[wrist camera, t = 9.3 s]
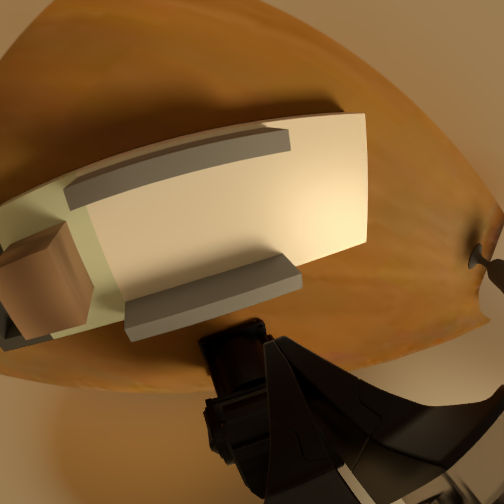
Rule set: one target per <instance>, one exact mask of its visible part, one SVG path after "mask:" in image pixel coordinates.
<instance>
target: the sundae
mask: <svg viewBox="0 0 504 504" xmlns="http://www.w3.org/2000/svg"><path fill="white" fill-rule="evenodd" d="M481 253H482V245H481V244H479V245H477V246H476V247H475V249H474V250H473V252H472V254H471V256H470V259H469V264H468V266H469V269H472V268H474V267H475V265H476V264H482V265H483V266H485V267H486V268H487V272H488V277H489V279H490V280H491V281H492V282H493V283H494V284H495V285H496V286H497V287H498V288H499V289H500V290H501V291H502V292H503V293H504V260H501V259H496V260H493V261H491V262H489V261H487V260H486V259H484V258H483V257H482V255H481Z"/></svg>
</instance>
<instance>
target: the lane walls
mask: <svg viewBox="0 0 504 504" xmlns="http://www.w3.org/2000/svg"><path fill="white" fill-rule="evenodd" d="M287 151H291V146H290V138H289V129H281V128H273V127H264V128H257V129H251V130H246V131H240V132H235V133H230V134H225V135H220V136H215V137H210V138H206V139H201V140H197V141H193V142H189V143H185V144H181V145H177V146H173V147H169V148H165V149H162V150H158V151H155V152H151V153H148V154H144V155H141V156H138V157H134V158H131V159H128V160H125V161H122V162H119V163H116V164H113V165H110V166H107V167H104V168H101V169H98V170H96V171H93V172H90V173H87V174H85V175H82V176H80V177H77V178H76V179H75V180H73V181H72V182H71V183H70V184H69V185H67V186H66V187H65V188H64V189H63V192H64V195H65V198H66V201H67V204H68V207H69V209H70V211H72V210H75V209H77V208H80V207H83V206H85V205H88V204H91V203H94V202H96V201H99V200H102V199H105V198H108V197H111V196H114V195H117V194H120V193H123V192H126V191H129V190H132V189H135V188H138V187H142V186H145V185H148V184H151V183H155V182H158V181H162V180H165V179H169V178H172V177H176V176H180V175H183V174H187V173H191V172H195V171H199V170H203V169H207V168H211V167H215V166H219V165H223V164H228V163H232V162H236V161H241V160H246V159H250V158H255V157H260V156H265V155H270V154H276V153H281V152H287ZM300 288H302V273H301V272H300V271H299V270H298V269H297V268H296V267H295V266H294V265H293V264H292V263H291V261H290V260H289V259H288V258H287V257H286V256H285V255H284V254H279V255H276V256H273V257H270V258H267V259H263V260H260V261H257V262H254V263H251V264H247V265H244V266H241V267H238V268H235V269H231V270H228V271H225V272H222V273H218V274H215V275H212V276H209V277H205V278H202V279H199V280H196V281H192V282H189V283H186V284H183V285H179V286H176V287H173V288H169V289H166V290H163V291H159V292H156V293H153V294H149V295H146V296H143V297H139V298H136V299H133V300H129V301H126V302H125V316H124V330H125V332H126V334H127V335H128V337H129V339H130V341H131V342H134V341H138V340H142V339H145V338H149V337H152V336H156V335H159V334H163V333H166V332H170V331H173V330H177V329H180V328H183V327H187V326H190V325H193V324H196V323H200V322H203V321H206V320H209V319H212V318H215V317H219V316H222V315H225V314H228V313H231V312H234V311H237V310H240V309H243V308H246V307H249V306H252V305H255V304H258V303H261V302H264V301H267V300H270V299H272V298H275V297H278V296H281V295H284V294H287V293H289V292H292V291H295V290H298V289H300Z"/></svg>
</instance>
